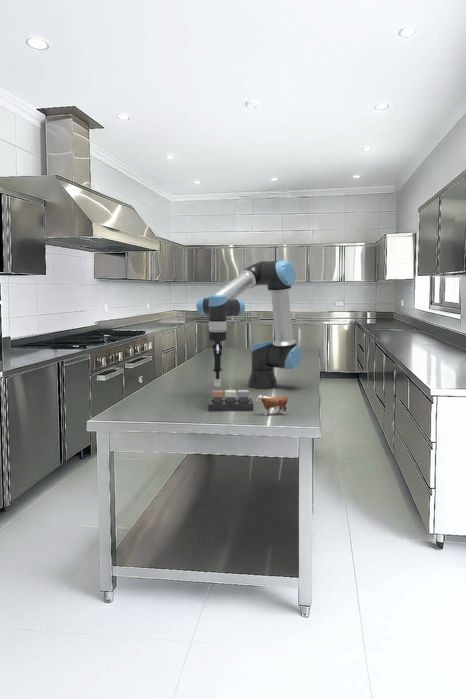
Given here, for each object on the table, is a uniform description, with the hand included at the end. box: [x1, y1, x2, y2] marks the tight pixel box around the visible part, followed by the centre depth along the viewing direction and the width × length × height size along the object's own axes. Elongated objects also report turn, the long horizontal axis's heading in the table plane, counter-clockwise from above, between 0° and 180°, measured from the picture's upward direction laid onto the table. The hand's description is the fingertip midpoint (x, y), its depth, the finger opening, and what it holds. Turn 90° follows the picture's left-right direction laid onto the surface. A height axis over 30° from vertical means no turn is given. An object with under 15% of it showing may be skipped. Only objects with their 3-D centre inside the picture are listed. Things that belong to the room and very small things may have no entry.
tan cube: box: [211, 389, 224, 402], centre depth 237 cm, size 5×5×5 cm
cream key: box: [224, 389, 237, 402], centre depth 238 cm, size 5×5×5 cm
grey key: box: [237, 389, 250, 402], centre depth 238 cm, size 5×5×5 cm
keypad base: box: [207, 397, 254, 412], centre depth 238 cm, size 19×12×3 cm, turn 92°
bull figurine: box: [254, 394, 288, 416], centre depth 227 cm, size 4×13×8 cm, turn 95°
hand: (217, 386), depth 237 cm, fingers closed
